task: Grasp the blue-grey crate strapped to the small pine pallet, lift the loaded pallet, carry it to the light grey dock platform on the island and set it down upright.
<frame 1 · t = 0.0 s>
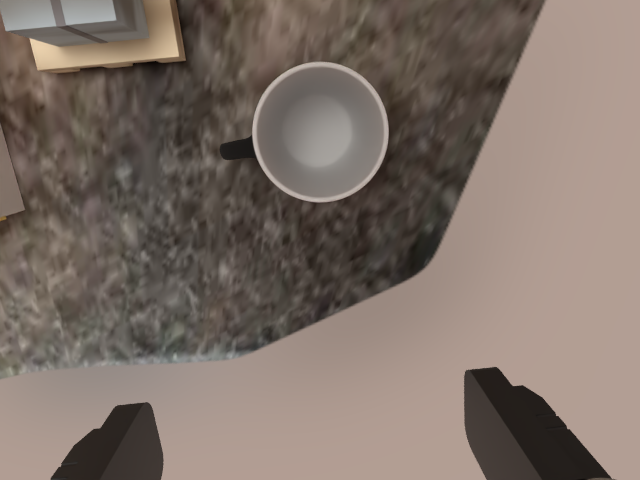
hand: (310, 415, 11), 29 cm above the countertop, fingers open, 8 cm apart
pallet: (110, 14, 35), on the countertop
mug: (299, 134, 38), on the countertop
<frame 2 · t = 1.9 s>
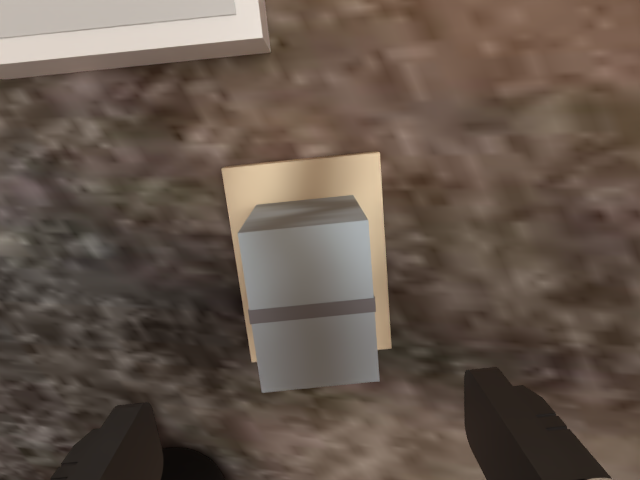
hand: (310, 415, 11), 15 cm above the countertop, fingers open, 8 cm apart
pallet: (311, 251, 25), on the countertop
mug: (174, 464, 29), on the countertop
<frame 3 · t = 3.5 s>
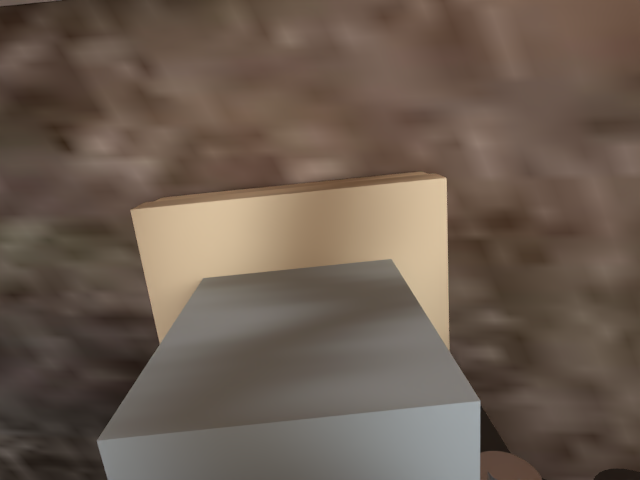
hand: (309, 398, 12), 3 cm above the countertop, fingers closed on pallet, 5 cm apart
pallet: (310, 342, 15), on the countertop, touching gripper
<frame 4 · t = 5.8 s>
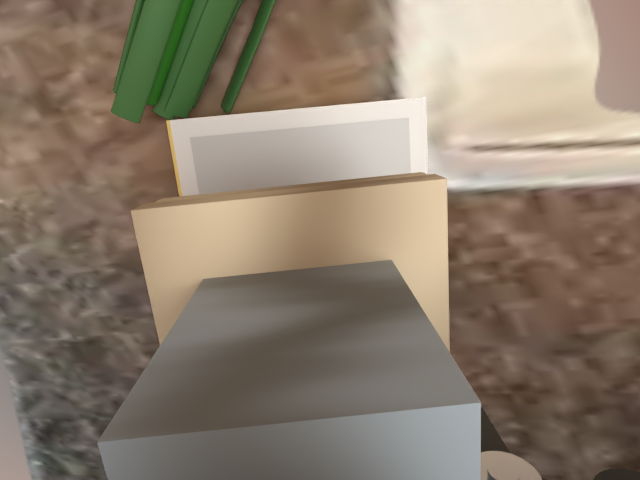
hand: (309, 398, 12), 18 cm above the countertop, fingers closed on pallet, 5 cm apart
pallet: (310, 342, 15), point 15 cm above the countertop, touching gripper
dock: (309, 219, 29), on the countertop
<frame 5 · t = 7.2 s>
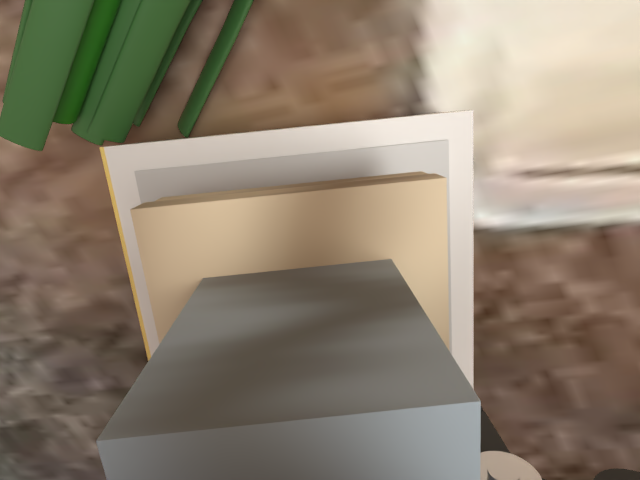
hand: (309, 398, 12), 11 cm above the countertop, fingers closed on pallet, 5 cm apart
pallet: (309, 342, 15), point 8 cm above the countertop, touching gripper
dock: (307, 268, 22), on the countertop
when the fingers open (7 cm above the countertop, at t = 8.3 s): pallet stays where it is, resting on dock.
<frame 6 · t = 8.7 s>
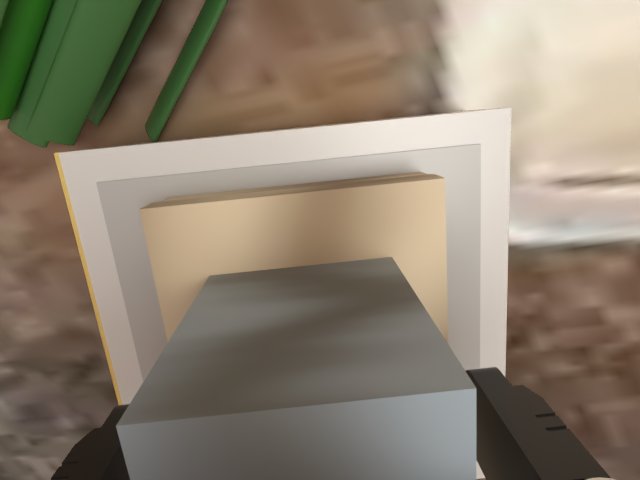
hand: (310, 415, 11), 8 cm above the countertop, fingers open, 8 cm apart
pallet: (312, 338, 15), point 4 cm above the countertop, touching dock
dock: (308, 291, 19), on the countertop
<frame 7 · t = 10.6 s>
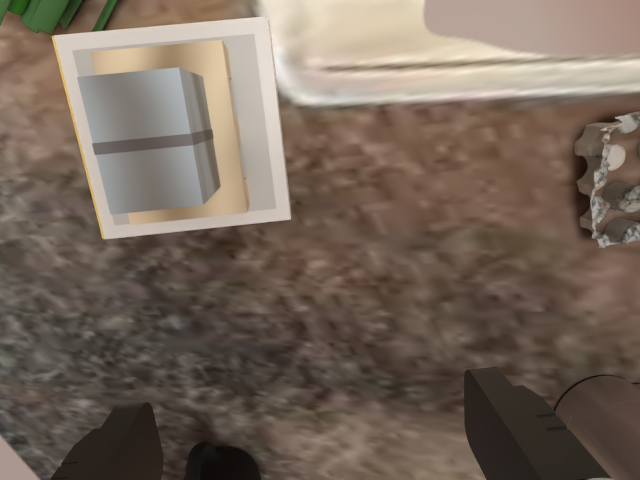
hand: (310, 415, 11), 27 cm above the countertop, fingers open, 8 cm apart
pallet: (182, 135, 30), point 4 cm above the countertop, touching dock
egg carton: (612, 174, 38), on the countertop
dock: (193, 131, 34), on the countertop
mug: (222, 458, 44), on the countertop
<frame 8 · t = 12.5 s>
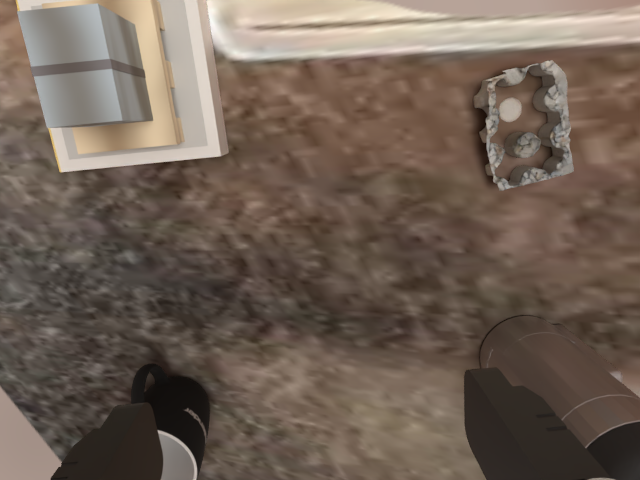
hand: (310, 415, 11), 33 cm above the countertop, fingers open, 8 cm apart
pallet: (124, 80, 36), point 4 cm above the countertop, touching dock
egg carton: (512, 126, 42), on the countertop
dock: (141, 83, 40), on the countertop
mug: (176, 387, 48), on the countertop
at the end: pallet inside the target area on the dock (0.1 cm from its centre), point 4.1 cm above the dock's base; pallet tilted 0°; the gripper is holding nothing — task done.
